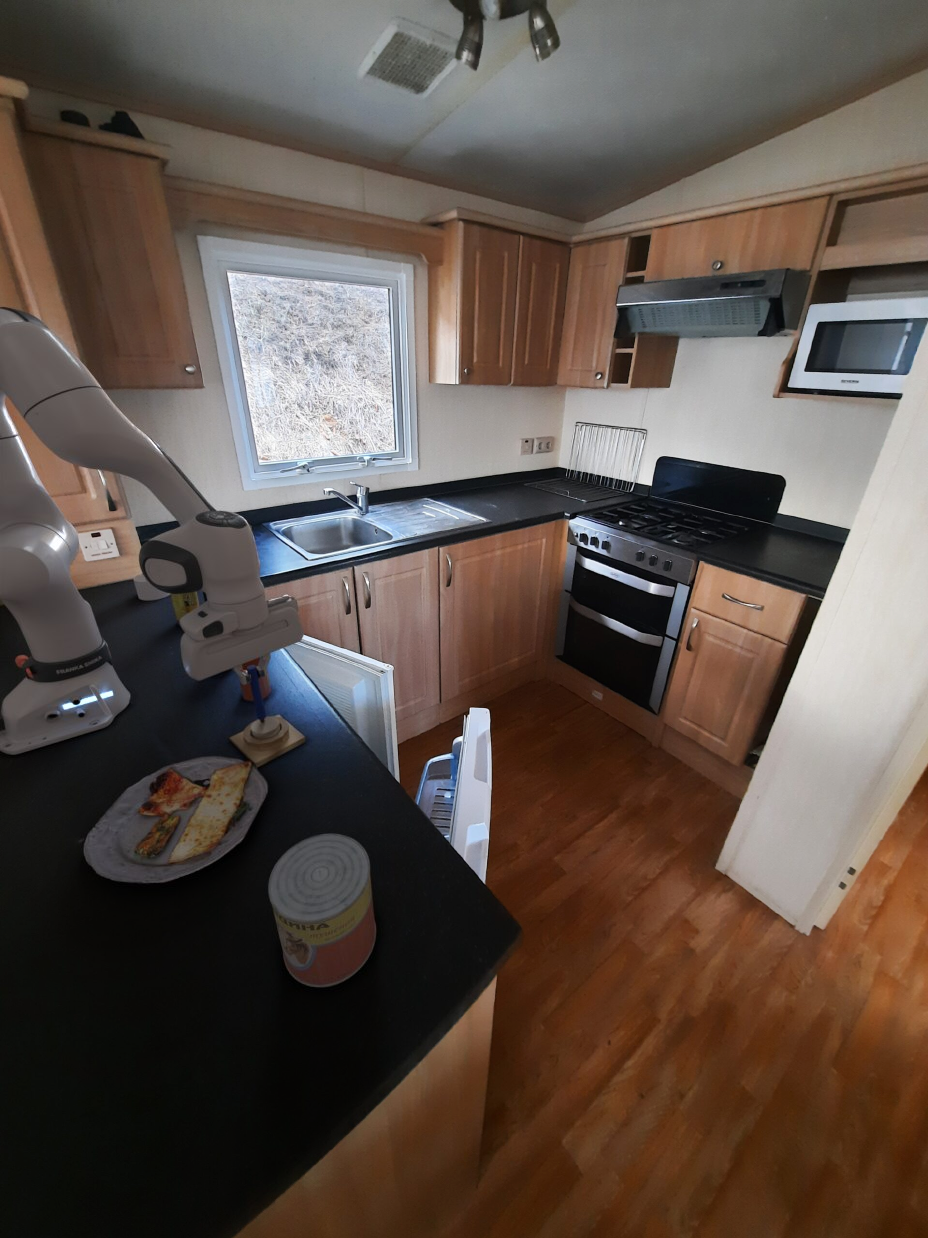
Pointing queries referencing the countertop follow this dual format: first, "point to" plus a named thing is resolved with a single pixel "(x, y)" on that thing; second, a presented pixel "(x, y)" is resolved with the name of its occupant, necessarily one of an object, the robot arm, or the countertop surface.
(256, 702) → the rod
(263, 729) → the face circle
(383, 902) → the countertop surface
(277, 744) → the wooden square stand base
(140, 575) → the base with upright slab
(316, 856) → the canned food
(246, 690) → the pen pot
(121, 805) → the food plate
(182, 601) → the sauce bottle
